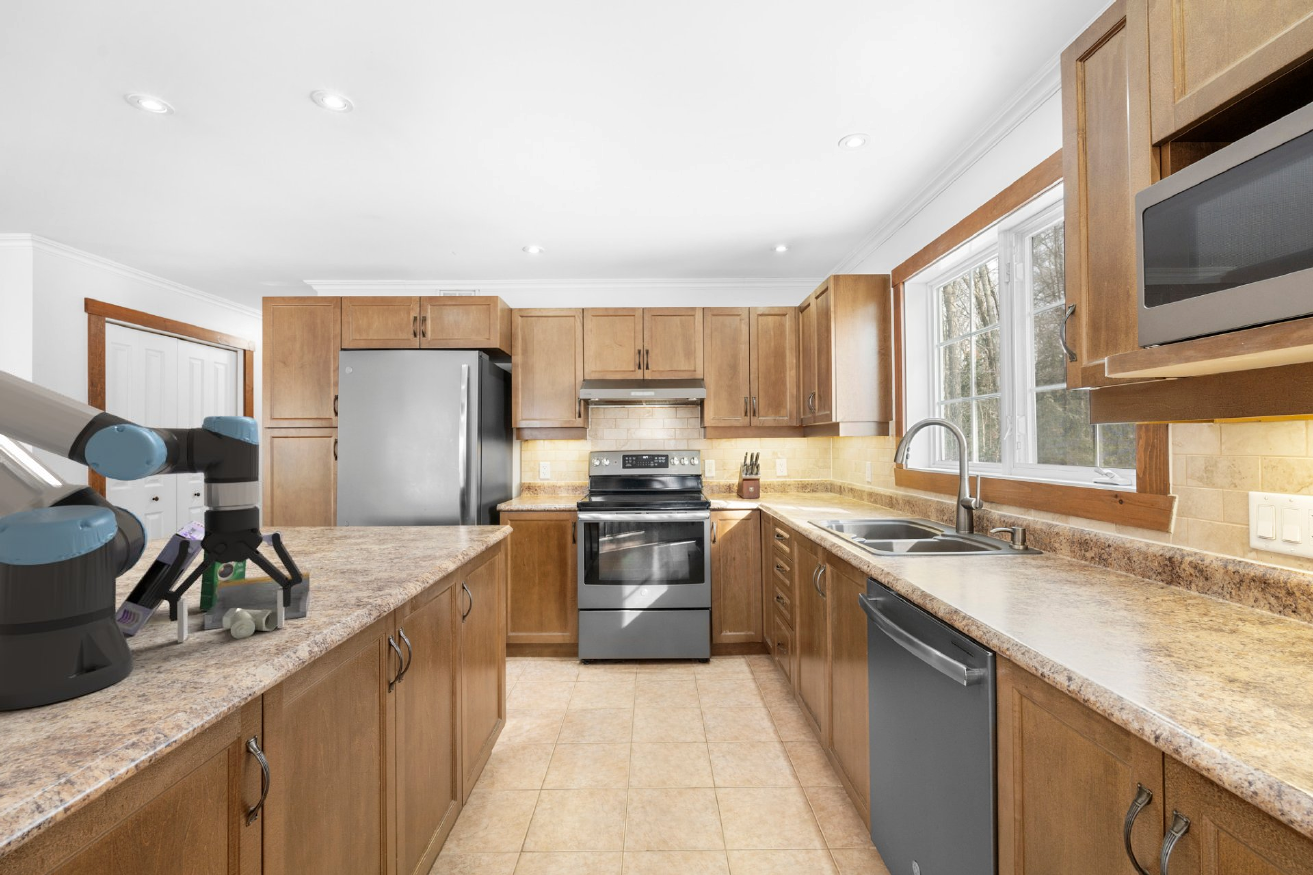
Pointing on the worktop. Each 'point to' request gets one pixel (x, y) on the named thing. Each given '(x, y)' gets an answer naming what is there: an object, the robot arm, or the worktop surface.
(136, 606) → the cake pan box
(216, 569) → the coffee box
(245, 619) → the pipe fitting
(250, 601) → the grey tray
